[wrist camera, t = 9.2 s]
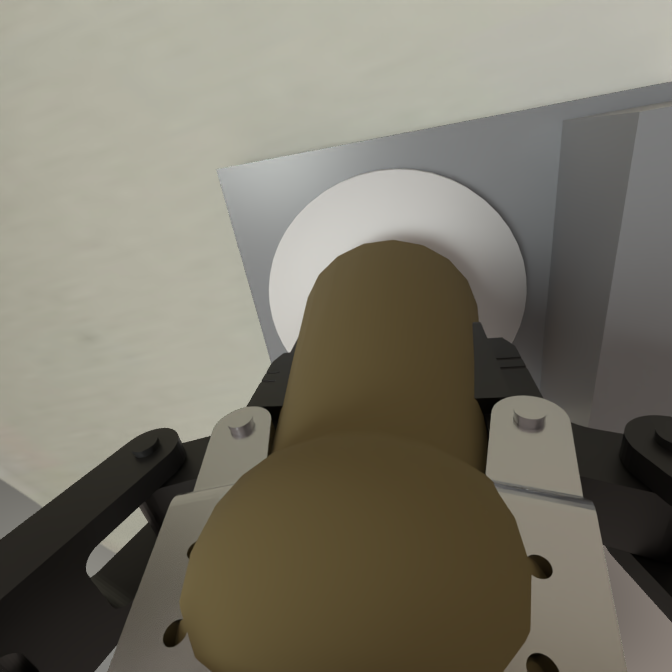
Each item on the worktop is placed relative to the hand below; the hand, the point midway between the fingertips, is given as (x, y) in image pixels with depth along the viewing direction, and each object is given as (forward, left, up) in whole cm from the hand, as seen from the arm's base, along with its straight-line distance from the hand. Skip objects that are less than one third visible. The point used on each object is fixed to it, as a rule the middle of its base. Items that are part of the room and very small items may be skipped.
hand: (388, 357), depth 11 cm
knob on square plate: (-2, 0, -7) cm, 8 cm away
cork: (0, 0, -2) cm, 2 cm away
